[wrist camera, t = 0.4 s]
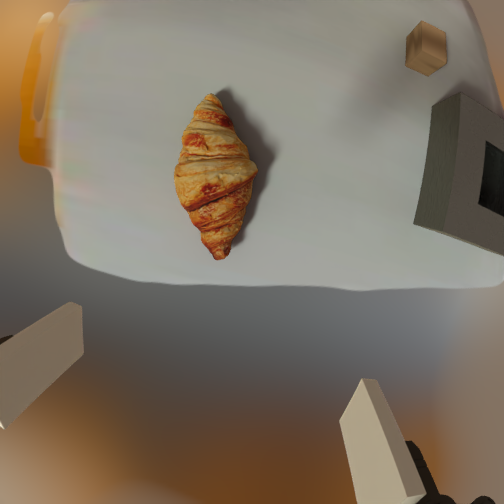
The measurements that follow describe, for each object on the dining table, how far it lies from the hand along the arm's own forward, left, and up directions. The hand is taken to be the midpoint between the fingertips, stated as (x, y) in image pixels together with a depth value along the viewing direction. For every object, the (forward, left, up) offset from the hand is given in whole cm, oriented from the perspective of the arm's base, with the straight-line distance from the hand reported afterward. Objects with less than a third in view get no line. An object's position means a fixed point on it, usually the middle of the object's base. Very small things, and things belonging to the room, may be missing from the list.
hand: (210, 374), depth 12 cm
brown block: (-35, +18, -27) cm, 48 cm away
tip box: (-18, +29, -27) cm, 43 cm away
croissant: (-9, -6, -27) cm, 29 cm away
